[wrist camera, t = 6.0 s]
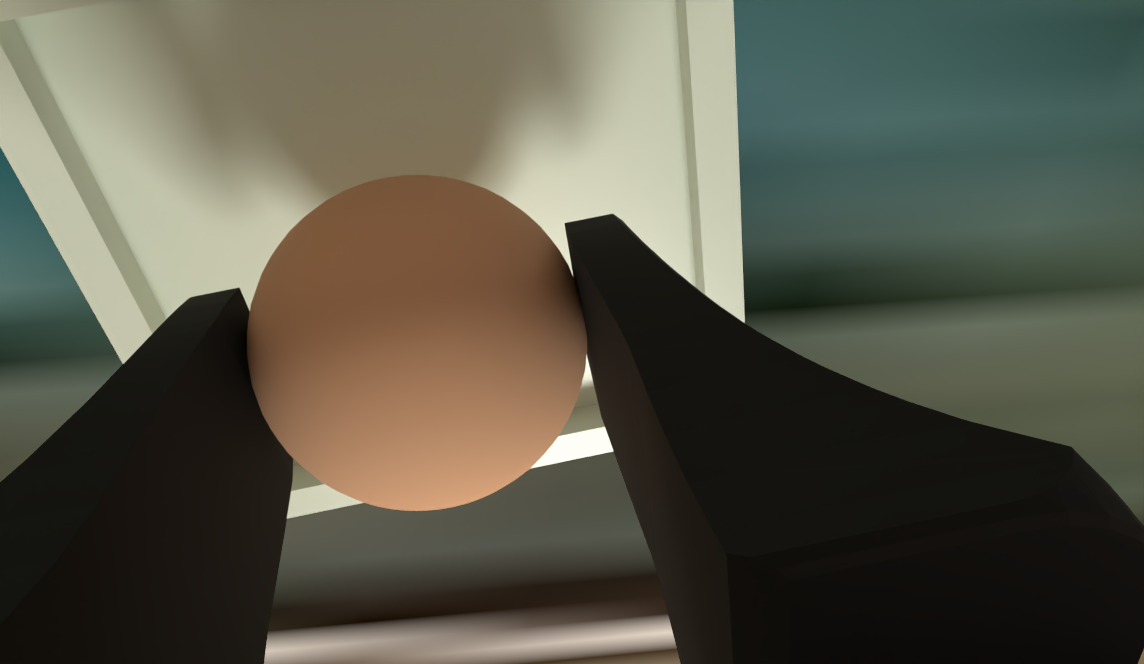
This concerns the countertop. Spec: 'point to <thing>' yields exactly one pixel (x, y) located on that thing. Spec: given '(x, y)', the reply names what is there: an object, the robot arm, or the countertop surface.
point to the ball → (416, 342)
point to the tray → (363, 137)
